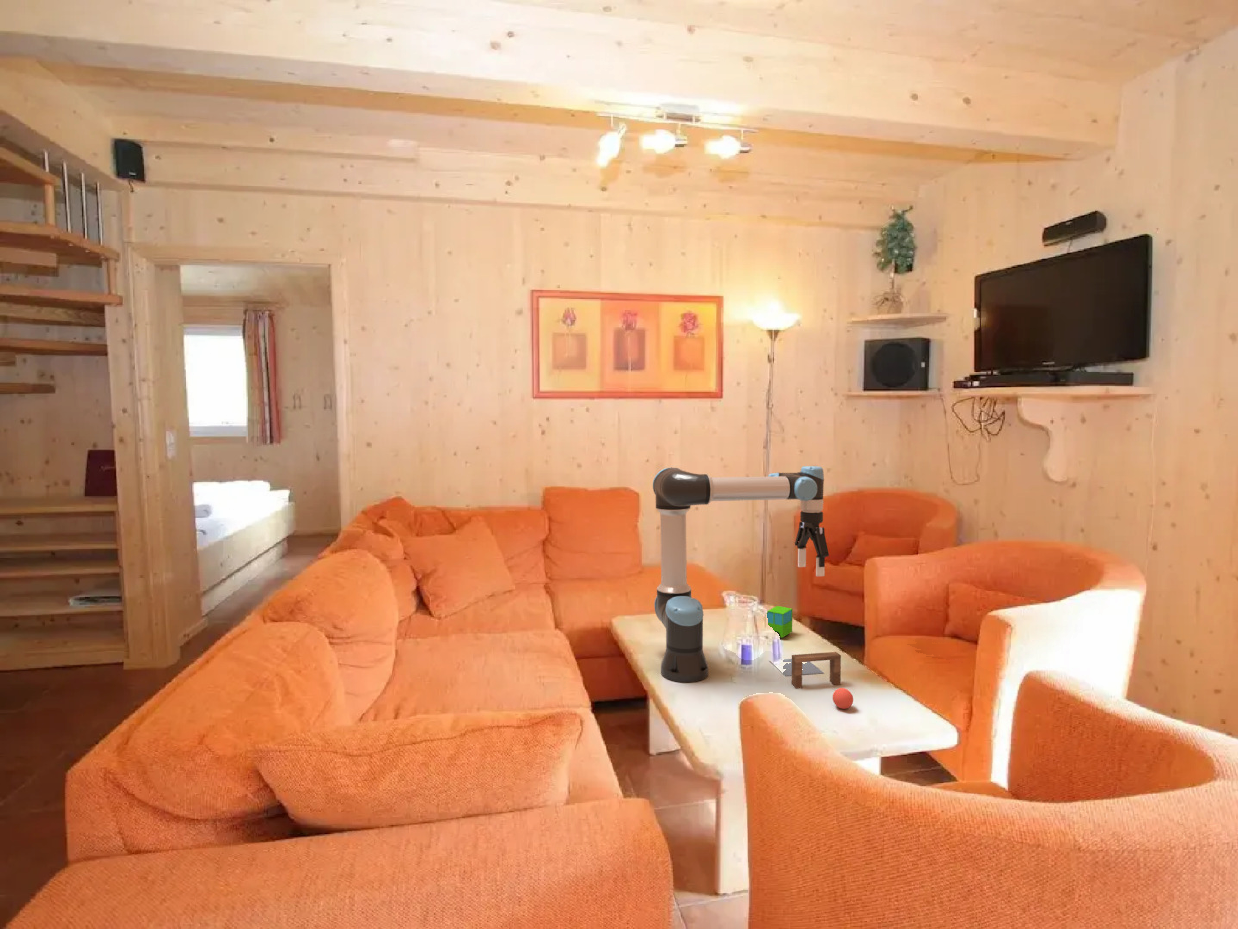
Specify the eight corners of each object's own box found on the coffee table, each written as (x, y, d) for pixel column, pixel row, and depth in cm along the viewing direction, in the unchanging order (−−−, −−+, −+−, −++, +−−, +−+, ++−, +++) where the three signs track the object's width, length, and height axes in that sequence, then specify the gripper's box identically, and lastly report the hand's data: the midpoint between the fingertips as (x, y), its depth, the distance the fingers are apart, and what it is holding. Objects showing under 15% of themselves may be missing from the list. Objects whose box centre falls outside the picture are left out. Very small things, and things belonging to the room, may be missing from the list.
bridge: (840, 684, 196) (840, 655, 195) (795, 688, 194) (796, 658, 193) (835, 680, 199) (836, 651, 198) (791, 684, 196) (791, 655, 196)
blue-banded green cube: (761, 627, 250) (761, 601, 250) (793, 634, 242) (793, 608, 241) (748, 634, 243) (748, 608, 242) (781, 641, 234) (781, 614, 233)
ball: (838, 713, 177) (838, 693, 177) (828, 704, 183) (829, 685, 182) (856, 711, 178) (857, 692, 178) (846, 702, 184) (847, 684, 183)
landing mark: (785, 676, 203) (785, 675, 202) (769, 661, 215) (769, 660, 215) (823, 673, 205) (823, 672, 205) (805, 658, 217) (805, 657, 217)
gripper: (840, 515, 211) (839, 579, 213) (805, 505, 235) (804, 562, 237) (819, 516, 210) (817, 580, 211) (785, 506, 234) (785, 563, 236)
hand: (810, 571), depth 224 cm, fingers open, 13 cm apart
